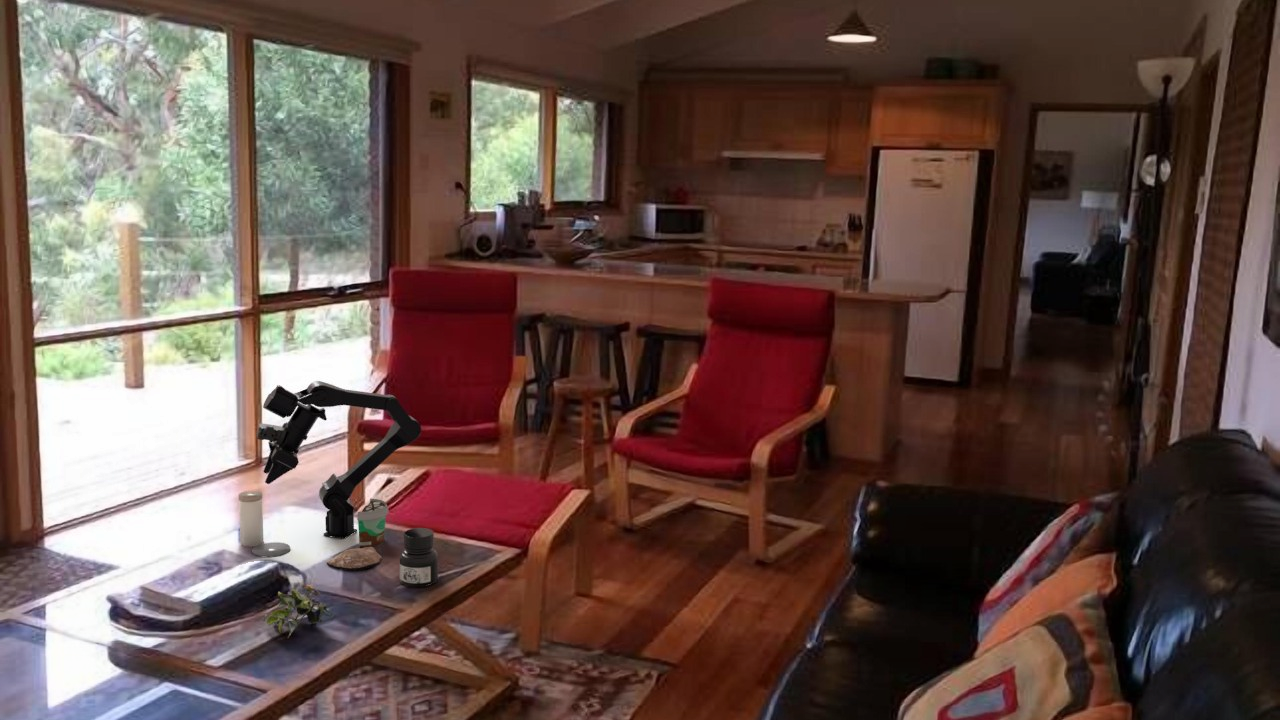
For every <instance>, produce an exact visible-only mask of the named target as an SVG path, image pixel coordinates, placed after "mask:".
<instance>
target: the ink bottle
mask: <svg viewBox="0 0 1280 720" xmlns="http://www.w3.org/2000/svg"><path fill="white" fill-rule="evenodd" d="M434 532H435V531H434V530H432V529H430V528H428V527H427V528H424V527H415V528H410V529H407V530H405V531H404V533H403V545H404V546H403V548H404V550H403V551H402V552H401V553H400V555H399V582H400V583H401V585H404V586H405V587H412V588H422V587H421V586H425V587H427V586H426V585H428V584H431V583H433V582H435V581H436V580H437V579H438V580H439V554H438V552H437V551H436V550H435V549H434V541H435V540H434V538H435V537H434ZM438 580H437V581H438ZM437 581H436V582H437ZM436 582H435V583H436ZM431 585H432V584H431Z"/></svg>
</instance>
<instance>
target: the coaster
mask: <svg viewBox="0 0 1280 720" xmlns="http://www.w3.org/2000/svg"><path fill="white" fill-rule="evenodd" d="M251 551H252V552H251V553H252V554H253V556H256V555H257V556H256V557H260V556H267V557H266V558H271V557H270V556H274V557H279V556H282V554H283V555H285V554H287V553H289V552H290V551H291V546H290V544H288V543H284V542H278V541H277V542H275V541H274V542H265V543H262V544H260V545H257V546H253V548H252V549H251ZM278 555H279V556H278Z"/></svg>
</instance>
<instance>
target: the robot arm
mask: <svg viewBox="0 0 1280 720" xmlns="http://www.w3.org/2000/svg"><path fill="white" fill-rule="evenodd" d="M339 406H350V407H355V408H363V409H373V410H381V411H386V412H387V413H388V415H389V417H391V420H393V423H392V425H391V426H390V428H389V429H388V431H387V433H386V435H385V436H384V438H383V439H381V440H380V441H379V442H378V443H377V444H376V445H375V446H373V448H371V450H369V451H368V452H367V453H366V454H365V455H364V456H362V457H361V458H360V459H359V460H358V461H356V462H355V464H354V465H352V466H351V467H350V468H349V469H348V470H347V471H346V472H345V473H343V474H341V475H339V476H337V475H336V473H332V474H331V475H330V477H329V478H328V479H327V480H325V481H324V482H321V484H322V486H321V487H320V489H319V492H318V497H319V499H320V501H321V503H322V504H323V506H324V508H325V509H327V511H326V515H325V518H324V519H325V520H324V521H325V531H326V532H324V533H323V536H325V537H330V536H332V537H331V538H337V539H346V538H347V537H350V536H351V534H352V535H354V534H355V533H357V532H358V528H355V520H354V519H355V515H354V514H355V513H354V512H355V507H354V505H353V504H352V502H351V501H350V497H351V496H352V494H353V493H354V490H355V488H356V487H357V486H358V485H359V484H360V483H361V482H362V481H364V480H365V479H366V478H367V477H368V476H369V475H370V474H371V473H372V472H373V471H375V470H376V469H377V468H378V467H379V466H380V465H381V464H382V463H384V462H385V460H387V459H388V458H389V457H390V456H391V455H393V453H394V452H396V450H399V449H401V448H404V447H406V446H408V445H410V444H411V443H412V442H414V441H416V440H417V439H418V438H419V437H420V436H421V434H422V427H421V424H420V423H419V421H417V419H415V418H414V417H412V416H411V415H410V414H408V413H407V411H406V409H404V408H403V406H402V405H401V403H400V401H399V399H398V398H397V397H396V396H395V395H393V394H383V393H373V392H367V391H360V390H359V391H358V390H351V389H345V388H342V387H339V386H336V385H334V384H330V383H327V382H323V381H322V380H315V381H313V382H311V383H310V384H309V385H308V386H307V387H306V388H304V389H301V390H298V391H296V392H295V393H294V392H291V391H290V390H287V389H286V388H284V387H283V386H281V385H279V384H277V386H276V387H275V388H274V389H273V390H271V392H270V393H268V395H267V396H266V399H265V400H264V402H263V406H262V408H263V409H264V410H266V411H269V412H270V413H272V414H275V415H277V416H278V417H280V418H283V419H285V418H286V417H287V418H288V417H290V419H289V420H288V421H286V422H284V423H283V425H282V426H281V425H275V424H268V423H258V426H257V431H256V439H257V440H260V441H263V440H265V441H266V440H267V441H268V446H269V451H270V452H269V454H268V457H267V461H266V463H265V466H264V468H263V470H262V471H263V473H264V474H265V475H267V476H266V478H265V481H264V482H265V484H267V485H270V484H271V483H273V482H275V481H276V480H277V479H279V478H280V477H282V476H283V475H286V473H288V472H289V471H292V470H295V469H296V468H297V466H298V465H299V462H300V461H299V459H298V458H299V457H298V453H299V452H300V450H299V448H301V445H302V443H303V442H304V441H307V439H308V434H309V433H310V431H311V430H312V428H313V427H314V425H315V423H316V422H317V420H319V419H321V420H323V421H327V420H328V418H327V415H326V409H325V408H328V407H329V408H331V407H332V408H333V407H339ZM318 418H319V419H318ZM356 531H357V532H356ZM354 532H355V533H354Z"/></svg>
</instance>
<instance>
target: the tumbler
mask: <svg viewBox="0 0 1280 720" xmlns="http://www.w3.org/2000/svg"><path fill="white" fill-rule="evenodd" d="M238 505H239V506H238V507H239V508H238V510H239V531H240V533H239V535H240V545H241V546H242V547H256V546H258V545H261V544H264V517H263V513H264V512H263V492H262V491H260V490H247V491H243V492H240V493H238Z"/></svg>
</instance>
